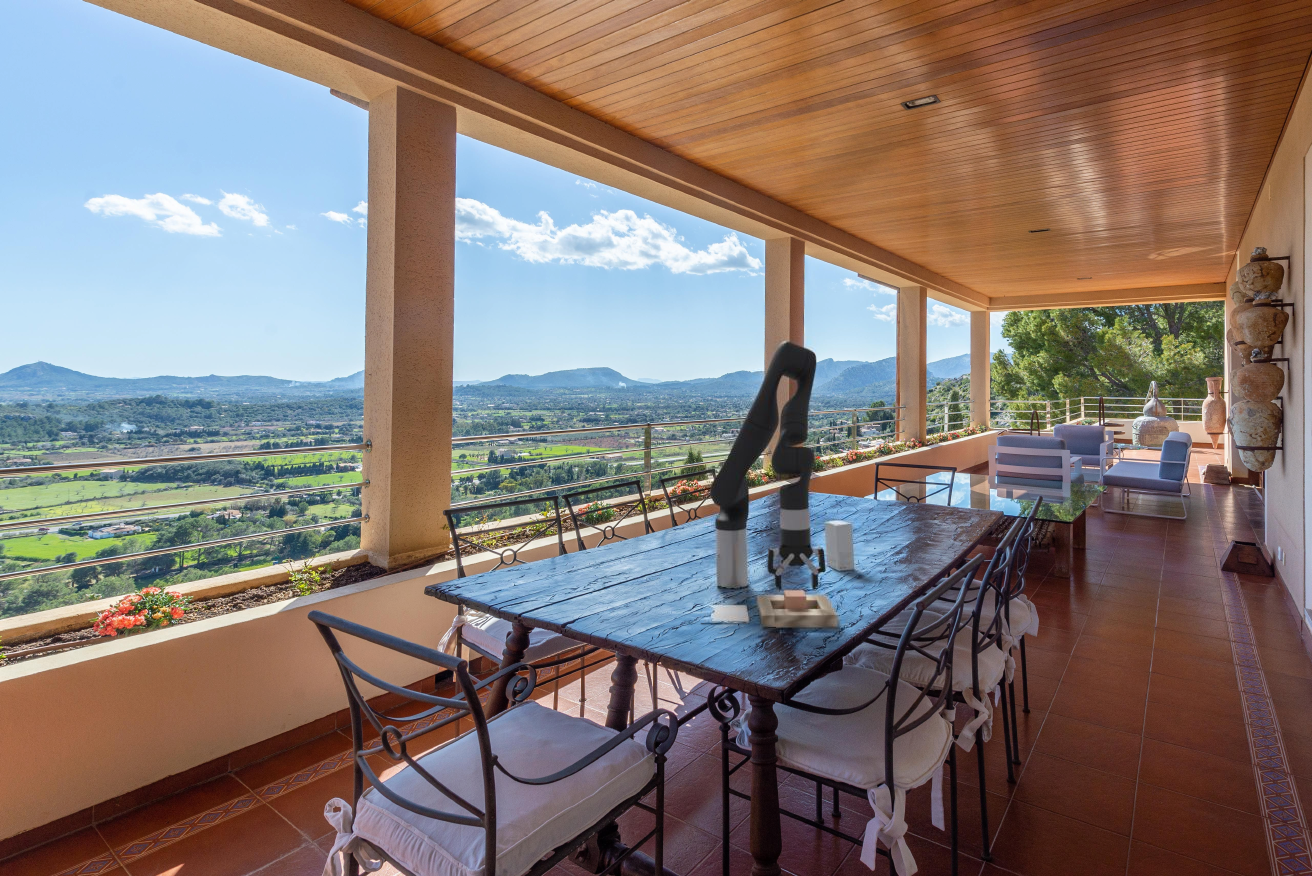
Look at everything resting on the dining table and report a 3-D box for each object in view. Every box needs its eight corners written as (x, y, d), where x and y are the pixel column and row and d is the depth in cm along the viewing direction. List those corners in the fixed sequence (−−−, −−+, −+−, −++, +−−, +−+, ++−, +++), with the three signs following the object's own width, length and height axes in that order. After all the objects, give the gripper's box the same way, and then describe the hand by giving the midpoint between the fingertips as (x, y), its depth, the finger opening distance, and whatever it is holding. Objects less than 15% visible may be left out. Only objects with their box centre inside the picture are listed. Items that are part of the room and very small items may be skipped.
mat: (700, 623, 160) (700, 621, 160) (701, 607, 172) (701, 605, 172) (749, 623, 159) (748, 620, 159) (746, 607, 171) (746, 605, 171)
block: (786, 619, 161) (786, 596, 161) (784, 613, 166) (783, 590, 166) (806, 619, 161) (806, 596, 160) (804, 613, 166) (803, 590, 165)
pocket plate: (762, 627, 156) (761, 615, 156) (757, 606, 172) (757, 595, 172) (837, 627, 155) (837, 615, 154) (825, 605, 171) (825, 594, 170)
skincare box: (854, 570, 204) (854, 523, 203) (837, 571, 203) (836, 525, 202) (841, 563, 212) (840, 519, 211) (824, 565, 211) (824, 520, 210)
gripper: (767, 529, 159) (769, 593, 160) (826, 527, 158) (828, 592, 159) (765, 523, 166) (766, 585, 167) (820, 522, 165) (822, 584, 166)
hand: (796, 588), depth 163 cm, fingers open, 8 cm apart
